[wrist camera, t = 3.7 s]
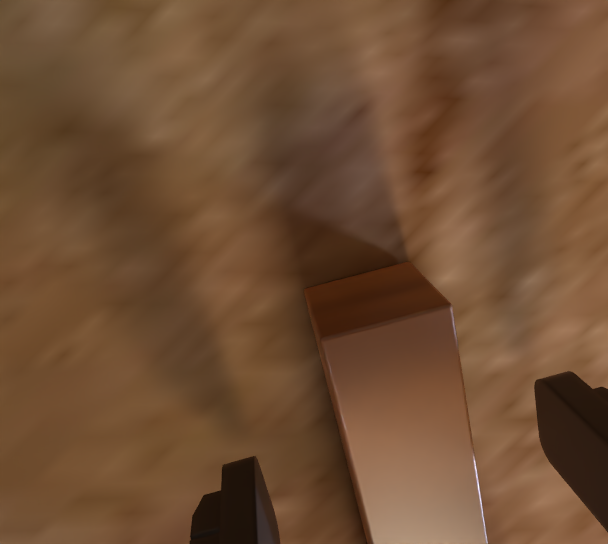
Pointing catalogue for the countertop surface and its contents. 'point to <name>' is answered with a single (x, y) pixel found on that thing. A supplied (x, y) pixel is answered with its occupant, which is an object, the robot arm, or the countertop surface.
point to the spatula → (400, 405)
